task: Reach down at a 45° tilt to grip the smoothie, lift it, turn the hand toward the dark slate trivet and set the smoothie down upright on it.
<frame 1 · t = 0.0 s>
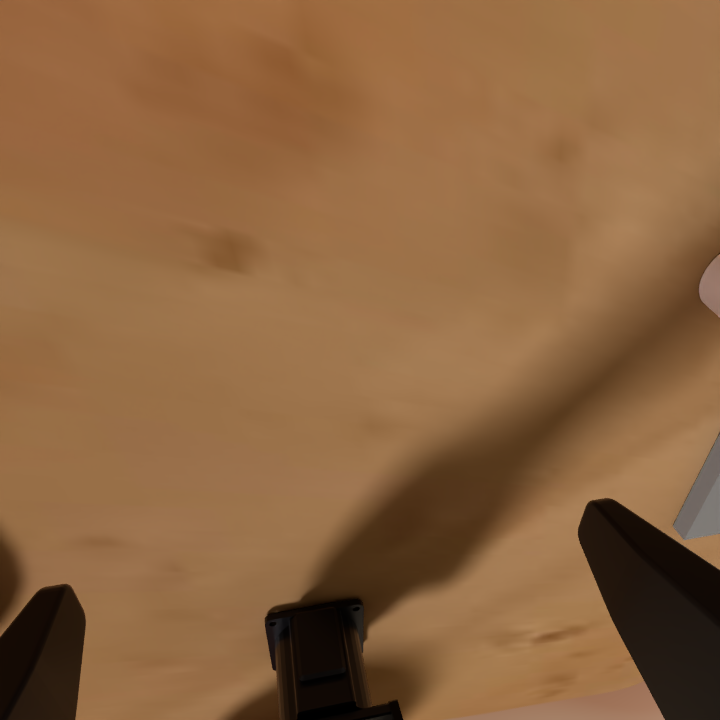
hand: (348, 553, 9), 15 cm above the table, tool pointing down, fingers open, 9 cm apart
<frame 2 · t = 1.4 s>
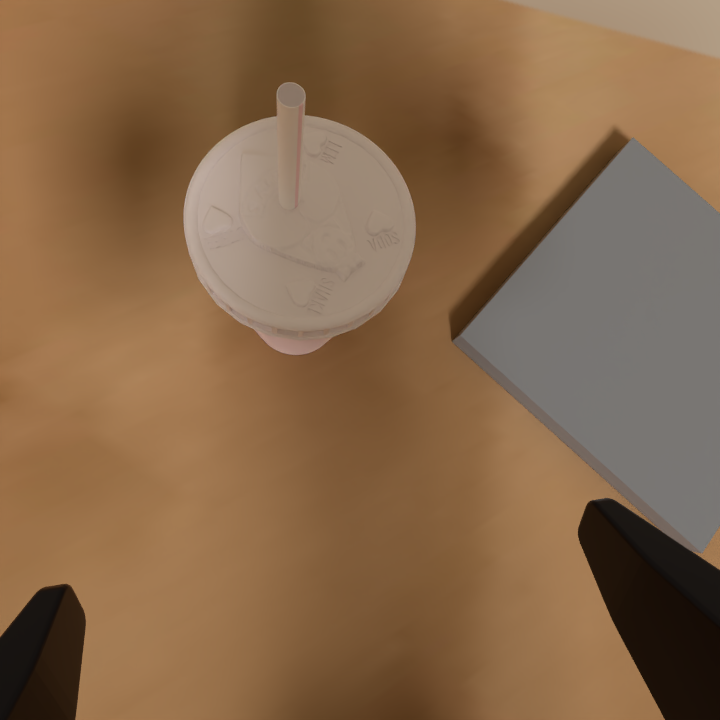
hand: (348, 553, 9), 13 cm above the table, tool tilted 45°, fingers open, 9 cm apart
smoothie: (295, 315, 24), on the table
slate trivet: (647, 336, 26), on the table
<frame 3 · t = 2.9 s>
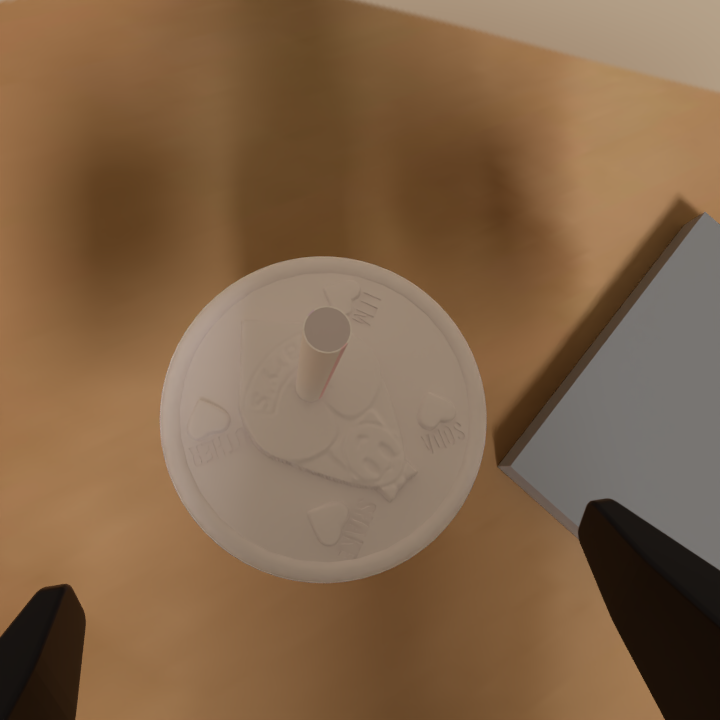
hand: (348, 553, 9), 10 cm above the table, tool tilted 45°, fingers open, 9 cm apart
smoothie: (308, 440, 20), on the table
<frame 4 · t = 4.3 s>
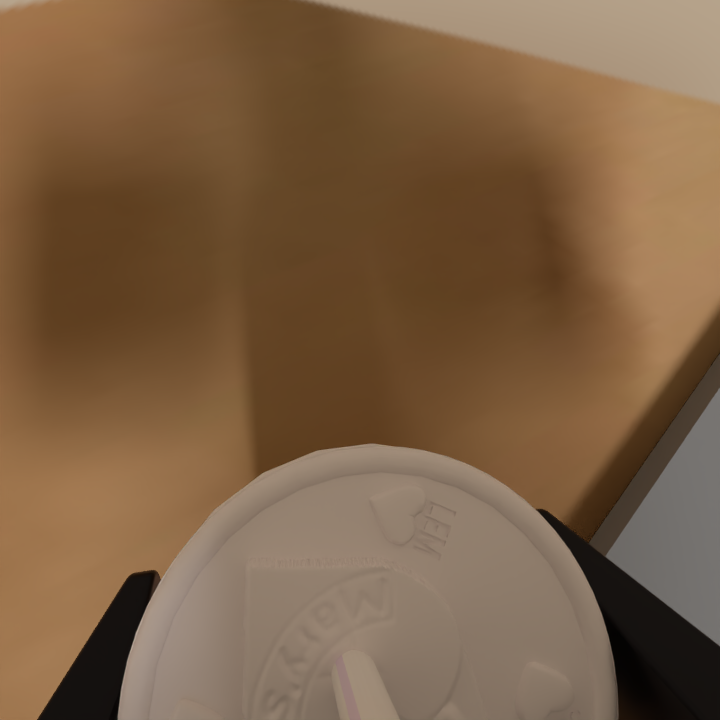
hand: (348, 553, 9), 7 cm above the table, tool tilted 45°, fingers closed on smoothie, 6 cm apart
smoothie: (325, 563, 16), on the table, touching gripper
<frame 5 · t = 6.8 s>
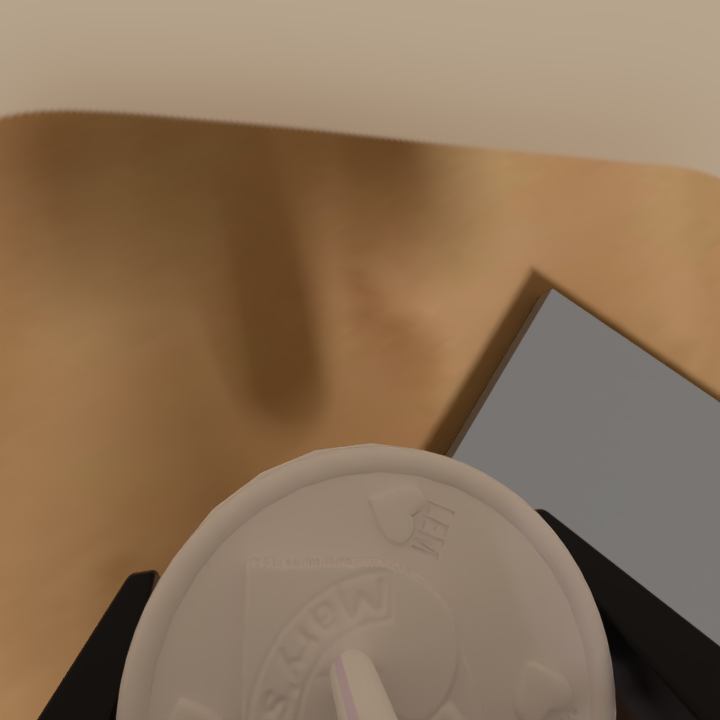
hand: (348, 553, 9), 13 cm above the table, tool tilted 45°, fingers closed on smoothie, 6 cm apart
smoothie: (324, 562, 16), point 5 cm above the table, touching gripper
slate trivet: (597, 512, 23), on the table
when the fingers open (9 cm above the table, at t = 9.4 s): smoothie stays where it is, resting on slate trivet.
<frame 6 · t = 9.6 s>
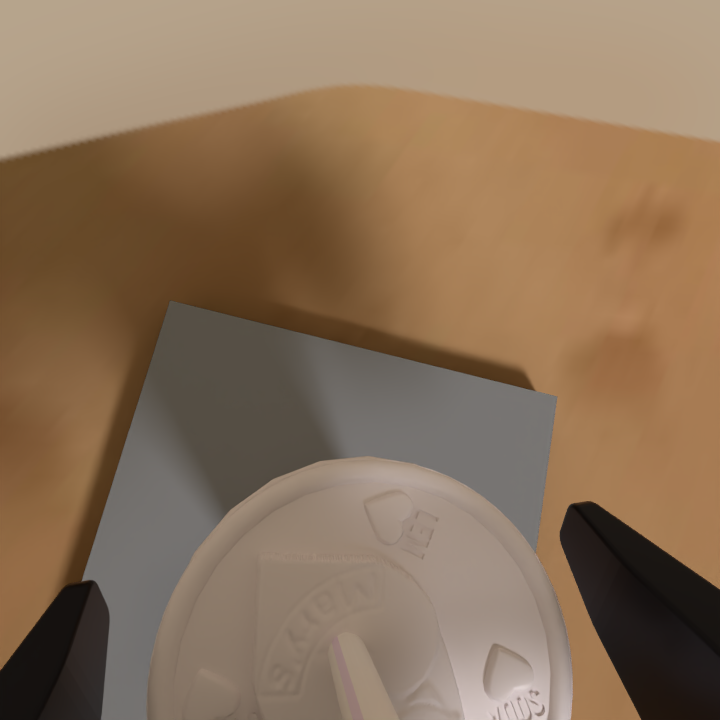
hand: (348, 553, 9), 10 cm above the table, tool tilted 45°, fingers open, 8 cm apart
smoothie: (323, 562, 17), point 1 cm above the table, touching slate trivet
slate trivet: (321, 551, 18), on the table
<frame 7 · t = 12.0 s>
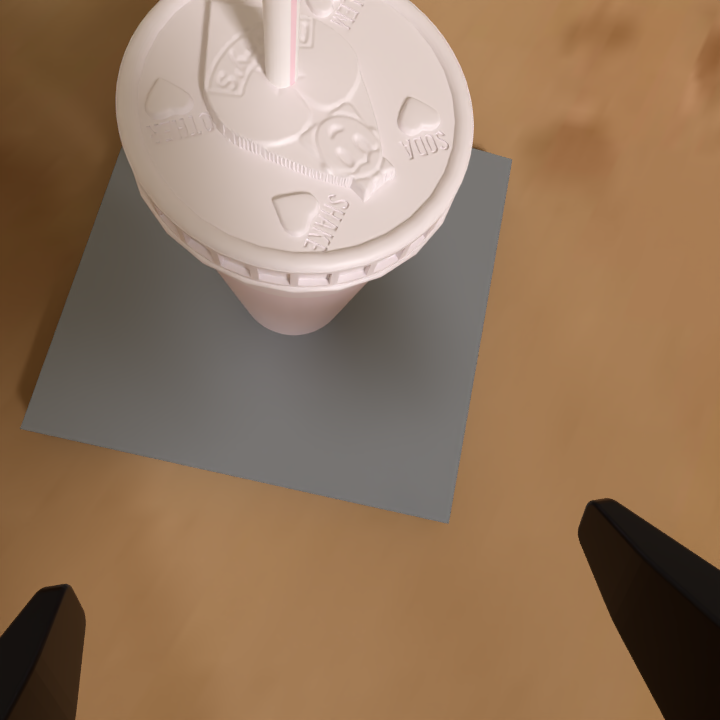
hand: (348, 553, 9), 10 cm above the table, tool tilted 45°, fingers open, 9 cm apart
smoothie: (293, 286, 19), point 1 cm above the table, touching slate trivet
slate trivet: (293, 289, 20), on the table
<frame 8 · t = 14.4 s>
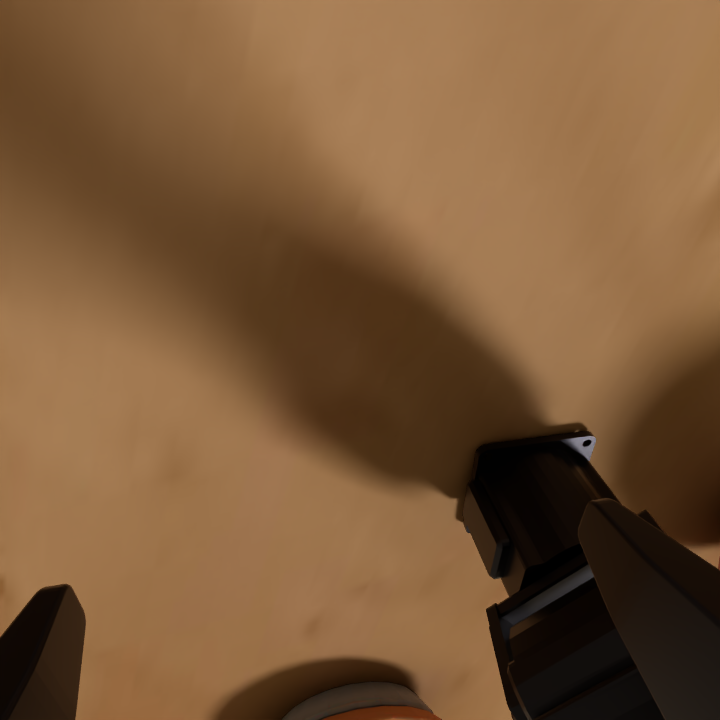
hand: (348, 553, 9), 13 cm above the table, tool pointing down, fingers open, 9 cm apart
pie: (348, 715, 42), on the table
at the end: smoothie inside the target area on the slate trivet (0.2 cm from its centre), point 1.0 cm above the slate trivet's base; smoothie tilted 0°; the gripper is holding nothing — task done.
